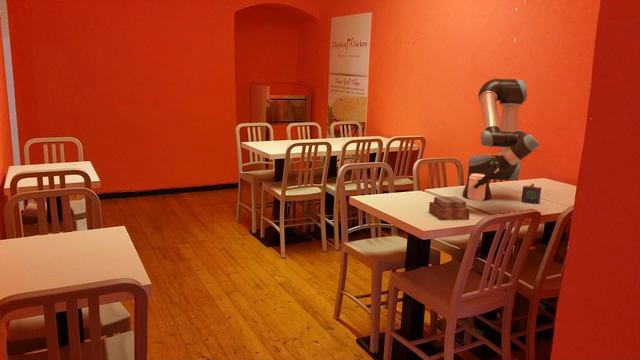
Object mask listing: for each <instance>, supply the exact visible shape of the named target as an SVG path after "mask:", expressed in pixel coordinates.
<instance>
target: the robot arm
mask: <svg viewBox="0 0 640 360" xmlns="http://www.w3.org/2000/svg"><path fill="white" fill-rule="evenodd" d="M477 96H478V98H477V99H478V103H479V104H480V106H481V112H482V121H483V129H484V130H482V131H481V134H480V144H481V145H482V146H484V147H489V148H491V147H495V148H497V147H498V152H496V154H495V157H494V158H493V156H492V155H490V154H476V155H472V156H470V157H469V159H468V160H469V161H468V165H467V166H468V169H467V177H466V178H467V179H466V183H465V186H464V188H463V190H462V197H463V198H465V199H469V198H468V197H467V196H468V191H469V192H470V193H472V192H474V191H475V190H476V189H478V188H479V187H480V186H482V185H484V184H485V183H486V190H485V199H483V200H482V201H489V200H491V199H492V192H491V188H490V180H497V181H498V180H499V181H516V180H517V179H518V177H519V176H520V172H521V168H522V160H523V159H524V158H525V157H527V156H528V155H530V154H531V153H532V152H534V151H535V150H536V149H537V148H539V146H540V143H539V142H538V140H537V139H536V138H535V137H534V135H532V134H531V133H528V134H527V133H526V132H525V131H523V130H522V129H518V126H519V124H518V123H519V111H520V108H521V107H522V106H523V103H525V102H526V101H527V96H528V88H527V84H526V82H525V81H524V80H523V79H515V78H513V79H512V78H493V79H489V80H487V81H486V82H485V83H484V84H483V85H482V86H481V88H480V89H479V91H478V95H477ZM497 102H499V103H498V104H499V106H500V107H501V117H500V118H501V119H499V112H498V107H497ZM471 174H483V175H485V176H484V177H483V178H482V179H480V180H479V179H478V181H477V182H476V183H474V184H473V185H472V186H471V187H469V188H468V186H469V177H470V175H471ZM469 200H470V199H469Z"/></svg>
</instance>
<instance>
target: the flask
mask: <svg viewBox="0 0 640 360" xmlns="http://www.w3.org/2000/svg"><path fill="white" fill-rule="evenodd" d="M541 194H542V187H540V186H535V183H533V182H532V183H531V184H530V185H529V184H526V185H523V186H522V194H521V203H522V204H523V203H524V204H532V205H533V204H534V205H540V202H541Z"/></svg>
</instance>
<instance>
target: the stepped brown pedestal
mask: <svg viewBox="0 0 640 360" xmlns="http://www.w3.org/2000/svg"><path fill="white" fill-rule="evenodd" d="M433 197H434V198H433V201H429V205H428V207H429V208H428V213H429V214H431V215H433V216H434V217H436V218H437V219H439V220H440V221H454V220H455V221H459V220H464V221H465V220H470V216H471V215H470V213H471V208H469V207H467V201H465V200H463V199H461V198H459V197H458V196H453V195H451V196H433Z"/></svg>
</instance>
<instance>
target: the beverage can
mask: <svg viewBox="0 0 640 360" xmlns="http://www.w3.org/2000/svg"><path fill="white" fill-rule="evenodd" d="M484 176H485V175H483V174H471V175H470V177H469V186H468V188H469V187H471V186H472V185H473V184H474V183H476V182H477V181H478V179H479V180H480V179H482V178H483V177H484ZM485 190H486V183H485V184H484V185H482V186H480V187H479V188H478V189H476V190H475V191H474V192H472V193H470V192H469V191H468V196H467V197H468V198H469V200H470V201H478V202H479V201H484V200H483V199H485ZM468 198H467V199H468Z"/></svg>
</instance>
